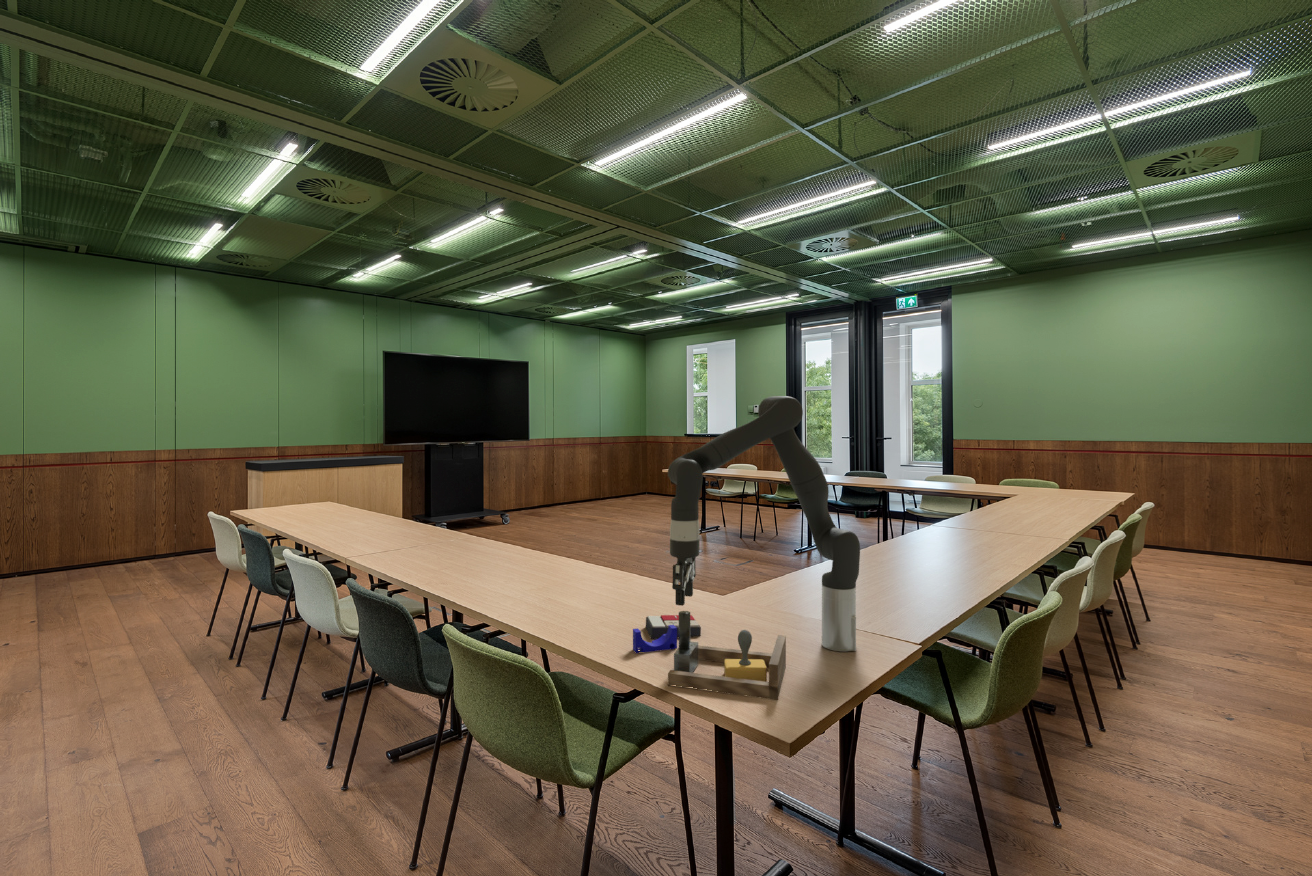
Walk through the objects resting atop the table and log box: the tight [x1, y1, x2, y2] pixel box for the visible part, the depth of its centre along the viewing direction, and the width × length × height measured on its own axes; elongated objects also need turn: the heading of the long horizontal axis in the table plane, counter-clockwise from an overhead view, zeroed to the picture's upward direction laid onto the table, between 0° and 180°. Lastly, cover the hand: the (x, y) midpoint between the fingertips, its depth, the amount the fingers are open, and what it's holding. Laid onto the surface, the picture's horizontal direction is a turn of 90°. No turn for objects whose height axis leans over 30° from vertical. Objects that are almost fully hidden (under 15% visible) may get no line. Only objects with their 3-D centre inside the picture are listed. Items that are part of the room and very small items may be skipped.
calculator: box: [645, 614, 702, 640], centre depth 182 cm, size 11×4×15 cm
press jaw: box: [673, 610, 699, 673], centre depth 153 cm, size 4×9×14 cm, turn 163°
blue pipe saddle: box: [632, 625, 678, 654], centre depth 168 cm, size 12×4×6 cm, turn 107°
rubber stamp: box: [723, 629, 768, 682], centre depth 148 cm, size 10×6×12 cm, turn 87°
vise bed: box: [667, 634, 787, 701], centre depth 149 cm, size 26×20×8 cm
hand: (684, 600), depth 152 cm, fingers open, 8 cm apart
